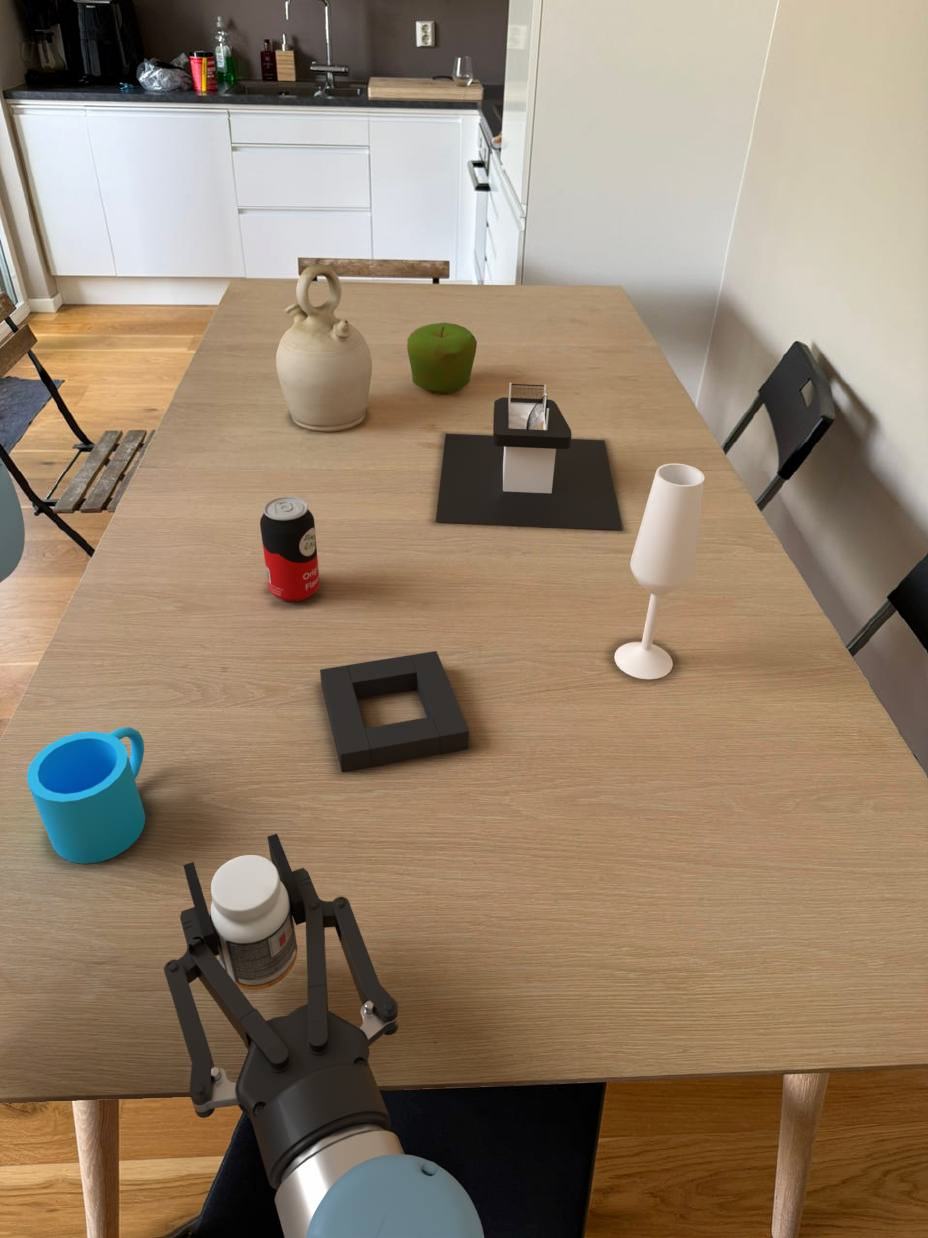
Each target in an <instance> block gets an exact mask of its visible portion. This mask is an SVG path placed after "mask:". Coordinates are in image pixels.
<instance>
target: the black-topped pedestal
mask: <svg viewBox="0 0 928 1238" xmlns="http://www.w3.org/2000/svg"><path fill="white" fill-rule="evenodd" d="M508 391H509V392H508V396H507V397H504V396H503V397H500V398H498V399H495V400H494V401H493V421H492V422H493V423H492V427H493V428H492V435H489V434H488V435H487V434H470V433H469V434H466V433H464V434H463V433H445V436H444V445H443V454H442V462H441V470H440V471H441V472H440V478H439V479H440V480H439V490H438V497H437V506H436V514H435V523H451V524H473V525H474V524H477V525H499V526H520V527H521V526H522V527H543V528H544V527H546V528H549V527H550V528H565V529H567V528H568V529H570V528H571V529H590V530H593V529H594V530H613V531H615V530H616V531H623V527H622V523H621V517H620V513H619V508H618V503H617V498H616V493H615V488H614V482H613V478H612V471H611V468H610V463H609V457H608V452H607V448H606V442H605V440H604V439H583V438H572V435H573V434H572V430H571V427H570V426H569V424H568V422H567V421H566V419H565V417H564V415H563V413H562V411H561V410H560V408H559V406H558V404H557V403H556V401H555V400H553V399H548V393H547V384H527V383H526V384H525V383H512V382H509V388H508ZM541 423H542V426H543V429H537V428H538V427H539V425H540V424H541Z"/></svg>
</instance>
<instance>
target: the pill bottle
mask: <svg viewBox="0 0 928 1238" xmlns="http://www.w3.org/2000/svg"><path fill="white" fill-rule="evenodd" d="M210 894H211V898H212V899H211V904H210V909H209V916H210V919H211V923H212V926H213V929H214V933H215V937H216V941H217V945H218V949H219V954H220V955H218V957H219V959H220V961H219V962H220V963H221V965H222V966H223V968H224V969H225V970H226V972H227V973H228V974H229V976H230V977H231V978H232V980H233V981H234V982H235V984H236V985H237V986H238V988H239V989H240V990H241V991H244V992H249V993H263V992H266V991H270V990H272V989H274V988H276V987H278V986H280V985H281V984H282V983H284V981H286V980H287V979H288V977H290V975H291V974H292V972H293V971H294V969H295V967H296V964H297V961H298V954H299V951H298V950H299V949H298V947H299V946H298V941H297V934H296V928H295V921H294V919H293V916H292V910H291V904H290V898H289V894H288V891H287V889H286V887H285V886H284V884H283V883H282V882H281V881H280V878H279V874H278V871H277V869H276V867H275V866H274V864H273V863H272V860H269V859H268V858H266V857H264V856H261V855H256V854H244V855H239V856H237V857H234V858H231V859H230V860H228V861H226V862H225V863H223V864H222V865H221V866H220V867H219V868H218V869H217V870H216V871H215V873H214V875H213V877H212V880H211V883H210Z"/></svg>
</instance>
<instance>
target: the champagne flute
mask: <svg viewBox="0 0 928 1238" xmlns="http://www.w3.org/2000/svg"><path fill="white" fill-rule="evenodd" d="M704 487H705V475H704V473H703V472H702V471H701V470H700V469H698V468H697V467H695V466H692V465H688V464H684V463H665V464H662V465H660V466H659V467H657V468H656V471H655V474H654V478H653V481H652V484H651V487H650V491H649V495H648V498H647V502H646V505H645V508H644V512H643V517H642V519H641V522H640V527H639V530H638V533H637V537H636V540H635V543H634V547H633V550H632V555H631V558H630V562H629V563H630V570H631V573H632V575H633V577H634V578H635V580H636V582H637V583H638V584H639V585H640V586H641V587H642V588H643V589H644V590H646V591H647V592H648V593H649V594H650V597H649V602H648V608H647V613H646V617H645V624H644V628H643V632H642V633H643V634H642V640H641V641H632V642H628V643H624V644H622V645H620V647H618V648H617V649H616V651H615V653H614V662H615V664H616V666H617V667H618V668H619V669H620V670H621V671H622V672H624V674H627V675H628V676H631V677H633V678H637V679H640V680H656V679H661V678H663V677H666V676H667V675H669V673H671V671H672V669H673V666H674V664H673V663H674V661H673V659H672V657H671V656H670V654H669V653H668V652H667V651H666V650H664V649H663V648H661V647H660V646H659V645H656V644H653V643H654V637H655V632H656V627H657V621H658V616H659V611H660V607H661V603H662V598H663V596H666V595H668V594H671V593H674V592H677V591H678V590H680V589H681V588H683V587H685V586H686V585H687V584H688V583H689V582H690V581H691V579H692V578H693V577H694V573H695V567H696V559H697V551H698V541H699V540H698V539H699V531H700V523H701V513H702V505H703V496H704Z"/></svg>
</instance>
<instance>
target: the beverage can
mask: <svg viewBox="0 0 928 1238" xmlns="http://www.w3.org/2000/svg"><path fill="white" fill-rule="evenodd" d="M315 524H316V523H315V518H314V514H313V513H312V511H310V509H309V506H308V503H307V501H305V500H303V499H302V498H299V497H295V496H281V497H277V498H274V499H271V500H269V501H267V502H266V504H264V506H263V513H262V516H261V517H260V521H259V526H260V535H261V542H262V549H263V557H264V566H265V572H266V580H267V587H268V591H269V592H270V593H271V594H272V595H273V596H274V597H275V598H277V599H279V600H282V601H284V602H290V603H292V602H293V603H294V602H295V603H296V602H301V601H305V600H306V599H308V598H310V597H311V596H313V595H314V594H315V593H316V592H317V590H318V589H319V587H320V582H321V581H320V570H319V569H320V568H319V560H318V559H319V558H318V547H317V546H318V545H317V537H316V525H315Z"/></svg>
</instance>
